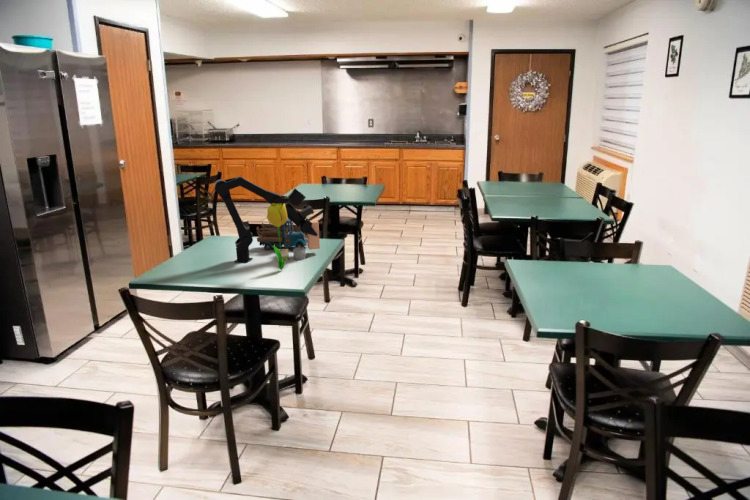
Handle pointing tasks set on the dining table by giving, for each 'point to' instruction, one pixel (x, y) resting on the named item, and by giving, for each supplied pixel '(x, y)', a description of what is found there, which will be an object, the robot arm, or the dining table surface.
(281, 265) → the flower
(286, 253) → the beech cube
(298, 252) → the grey domed cylinder
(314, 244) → the peach block
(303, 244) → the toy truck
